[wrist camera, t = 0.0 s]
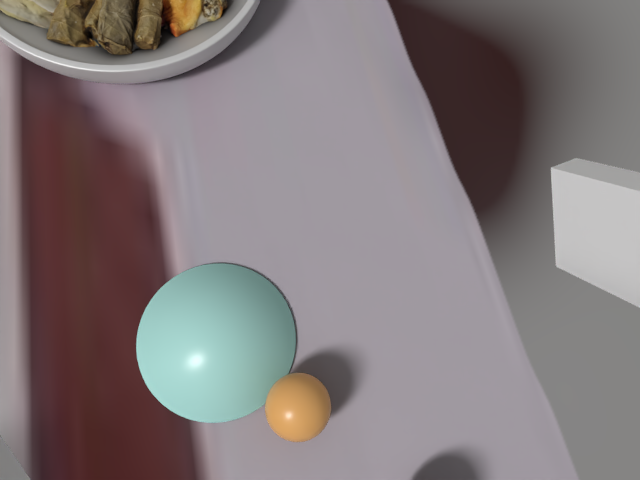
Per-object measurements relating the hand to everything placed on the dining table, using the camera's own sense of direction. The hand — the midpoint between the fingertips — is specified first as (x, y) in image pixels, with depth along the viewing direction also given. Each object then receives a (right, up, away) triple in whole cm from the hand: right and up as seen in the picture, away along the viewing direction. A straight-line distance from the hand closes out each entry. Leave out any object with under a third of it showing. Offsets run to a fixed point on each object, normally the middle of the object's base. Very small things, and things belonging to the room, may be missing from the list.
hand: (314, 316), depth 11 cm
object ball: (-2, -12, +31) cm, 33 cm away
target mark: (-9, -7, +34) cm, 36 cm away
